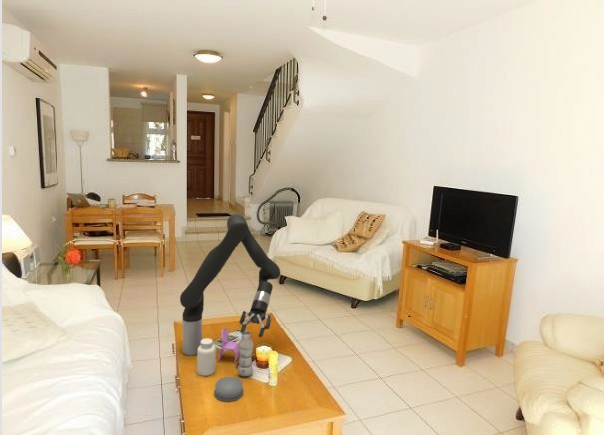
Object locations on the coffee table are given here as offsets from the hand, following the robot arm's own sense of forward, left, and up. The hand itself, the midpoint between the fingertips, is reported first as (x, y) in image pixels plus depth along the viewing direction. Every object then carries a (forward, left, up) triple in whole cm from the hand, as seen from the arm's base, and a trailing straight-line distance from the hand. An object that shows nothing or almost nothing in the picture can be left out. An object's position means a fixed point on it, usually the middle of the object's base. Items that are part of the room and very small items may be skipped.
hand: (251, 335), depth 190 cm
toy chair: (-12, -6, -17) cm, 21 cm away
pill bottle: (-7, -19, -16) cm, 26 cm away
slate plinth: (+13, -17, -16) cm, 27 cm away
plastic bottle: (+4, -5, -16) cm, 18 cm away
